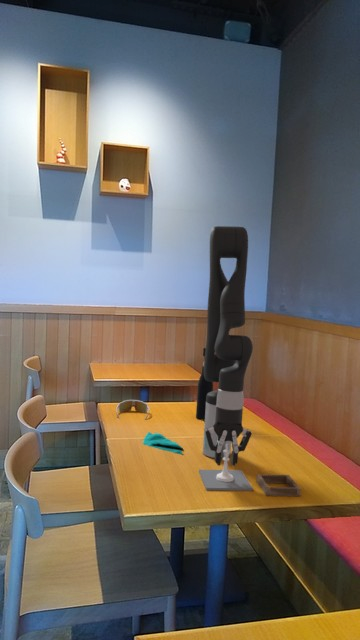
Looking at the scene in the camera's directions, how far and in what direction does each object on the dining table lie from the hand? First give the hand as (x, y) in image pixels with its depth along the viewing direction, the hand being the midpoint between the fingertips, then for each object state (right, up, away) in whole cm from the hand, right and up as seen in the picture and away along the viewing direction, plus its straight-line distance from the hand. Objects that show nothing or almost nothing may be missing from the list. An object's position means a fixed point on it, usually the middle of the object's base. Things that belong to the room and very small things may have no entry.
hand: (225, 464), depth 132 cm
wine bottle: (-3, -1, +66) cm, 66 cm away
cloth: (-20, -3, +30) cm, 36 cm away
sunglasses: (-33, 0, +65) cm, 73 cm away
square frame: (+14, -6, -3) cm, 16 cm away
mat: (0, -5, 0) cm, 5 cm away
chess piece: (0, -4, 0) cm, 4 cm away
